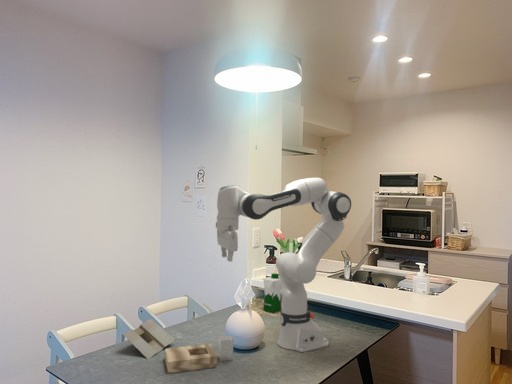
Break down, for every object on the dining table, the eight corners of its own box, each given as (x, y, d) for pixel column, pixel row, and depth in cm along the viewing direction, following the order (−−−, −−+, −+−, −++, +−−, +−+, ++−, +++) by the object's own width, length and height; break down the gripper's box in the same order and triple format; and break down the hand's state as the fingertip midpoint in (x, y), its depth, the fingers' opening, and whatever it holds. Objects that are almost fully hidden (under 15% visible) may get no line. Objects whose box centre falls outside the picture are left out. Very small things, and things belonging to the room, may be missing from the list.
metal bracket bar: (230, 355, 153) (230, 335, 153) (233, 359, 149) (233, 339, 149) (218, 357, 151) (218, 337, 151) (220, 361, 147) (220, 340, 147)
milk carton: (283, 310, 211) (283, 274, 211) (273, 314, 205) (274, 277, 204) (270, 307, 217) (271, 272, 217) (260, 310, 210) (261, 274, 210)
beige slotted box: (167, 350, 166) (147, 323, 171) (176, 339, 162) (155, 312, 167) (139, 370, 152) (117, 341, 156) (148, 359, 148) (125, 329, 153)
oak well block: (210, 353, 154) (210, 343, 154) (216, 366, 143) (216, 356, 143) (164, 358, 149) (165, 348, 149) (167, 373, 137) (168, 362, 137)
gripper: (242, 227, 145) (241, 263, 145) (229, 222, 165) (228, 254, 165) (226, 227, 143) (225, 264, 143) (214, 222, 163) (214, 255, 163)
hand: (226, 259), depth 154 cm, fingers open, 8 cm apart
